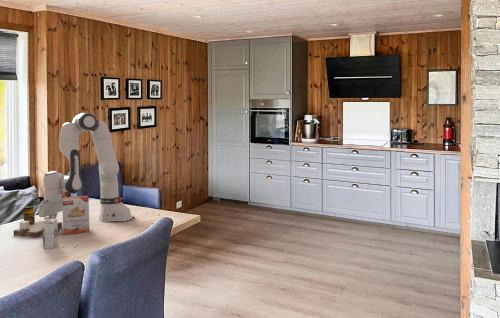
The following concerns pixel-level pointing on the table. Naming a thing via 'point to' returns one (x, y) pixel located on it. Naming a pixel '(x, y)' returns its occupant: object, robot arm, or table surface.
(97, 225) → the table surface
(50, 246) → the syrup box
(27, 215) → the condiment
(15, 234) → the console
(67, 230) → the cracker box
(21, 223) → the white fader
